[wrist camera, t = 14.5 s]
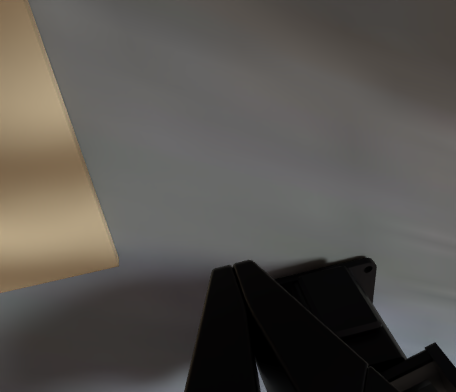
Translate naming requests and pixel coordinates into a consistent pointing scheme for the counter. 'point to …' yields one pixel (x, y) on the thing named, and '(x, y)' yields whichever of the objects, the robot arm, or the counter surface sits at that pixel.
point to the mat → (42, 169)
